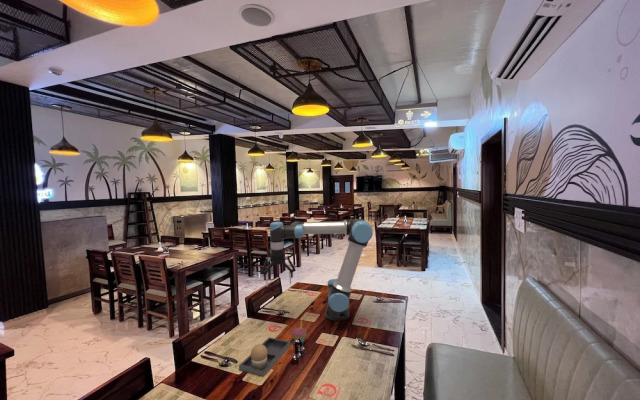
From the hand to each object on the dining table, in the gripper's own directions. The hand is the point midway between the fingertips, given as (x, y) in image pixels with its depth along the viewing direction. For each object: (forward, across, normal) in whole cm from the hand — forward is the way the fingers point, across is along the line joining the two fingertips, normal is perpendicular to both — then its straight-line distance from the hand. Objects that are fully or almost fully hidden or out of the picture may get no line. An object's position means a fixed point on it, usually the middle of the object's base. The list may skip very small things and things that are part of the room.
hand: (278, 284), depth 163 cm
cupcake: (+26, -9, +17) cm, 33 cm away
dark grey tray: (+26, +8, +29) cm, 40 cm away
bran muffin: (+25, +11, +34) cm, 44 cm away
